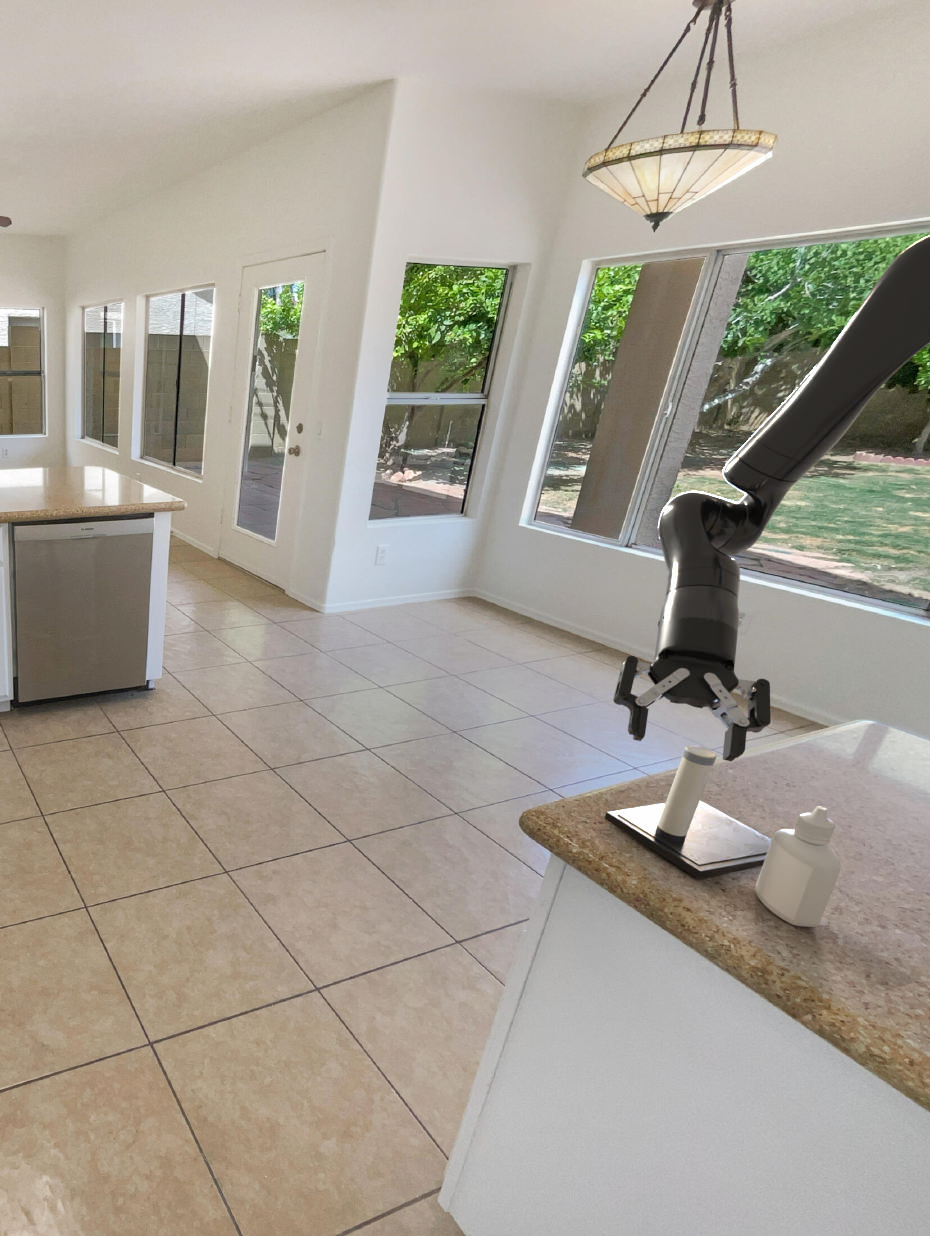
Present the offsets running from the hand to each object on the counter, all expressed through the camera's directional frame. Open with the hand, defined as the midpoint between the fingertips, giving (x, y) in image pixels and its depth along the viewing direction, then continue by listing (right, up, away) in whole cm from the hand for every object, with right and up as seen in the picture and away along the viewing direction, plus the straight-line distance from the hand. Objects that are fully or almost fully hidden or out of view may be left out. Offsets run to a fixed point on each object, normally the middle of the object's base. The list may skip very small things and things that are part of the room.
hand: (683, 748), depth 82 cm
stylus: (-4, -10, -2) cm, 11 cm away
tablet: (0, -10, -1) cm, 10 cm away
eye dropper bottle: (0, -14, -12) cm, 19 cm away
